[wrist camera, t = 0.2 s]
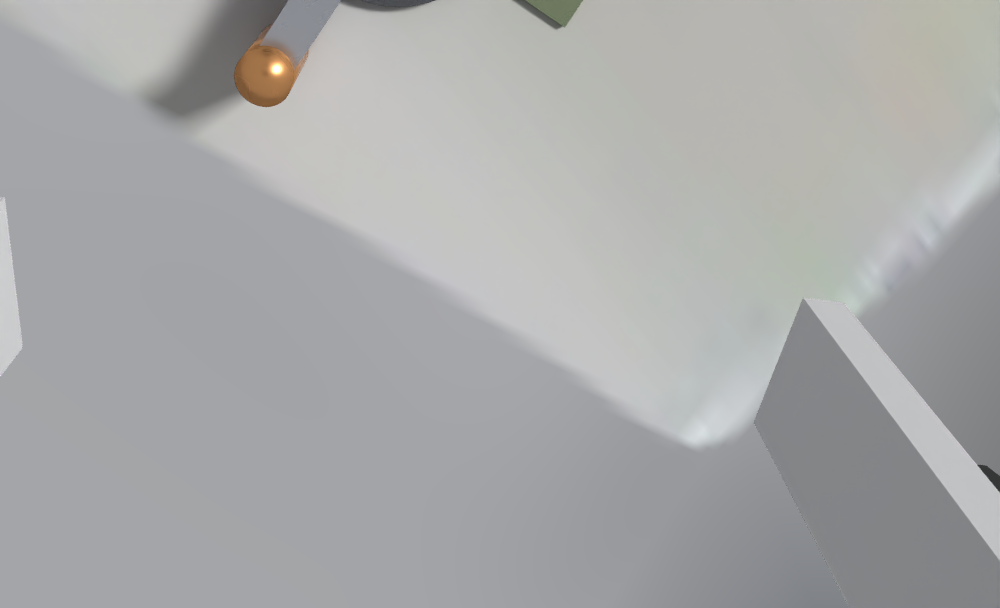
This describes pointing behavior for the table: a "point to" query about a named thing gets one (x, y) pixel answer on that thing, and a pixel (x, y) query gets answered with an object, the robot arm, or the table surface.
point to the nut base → (555, 3)
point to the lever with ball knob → (281, 51)
